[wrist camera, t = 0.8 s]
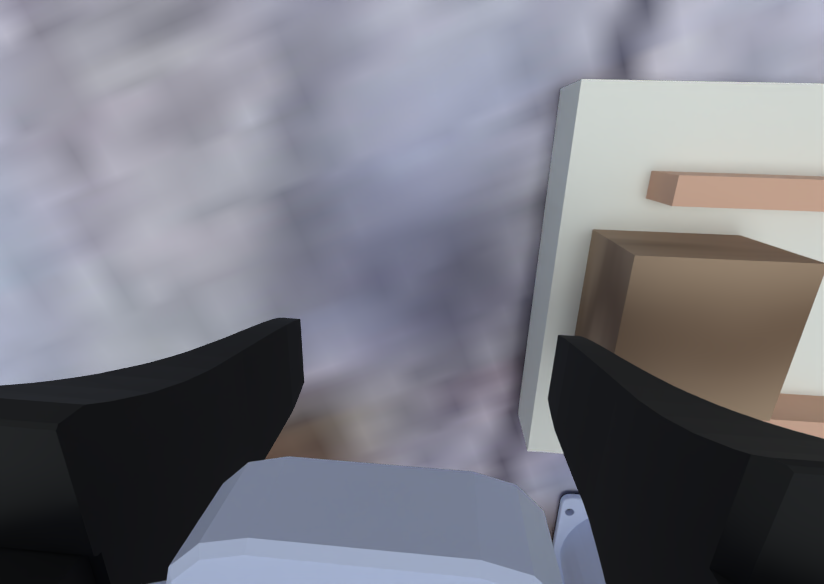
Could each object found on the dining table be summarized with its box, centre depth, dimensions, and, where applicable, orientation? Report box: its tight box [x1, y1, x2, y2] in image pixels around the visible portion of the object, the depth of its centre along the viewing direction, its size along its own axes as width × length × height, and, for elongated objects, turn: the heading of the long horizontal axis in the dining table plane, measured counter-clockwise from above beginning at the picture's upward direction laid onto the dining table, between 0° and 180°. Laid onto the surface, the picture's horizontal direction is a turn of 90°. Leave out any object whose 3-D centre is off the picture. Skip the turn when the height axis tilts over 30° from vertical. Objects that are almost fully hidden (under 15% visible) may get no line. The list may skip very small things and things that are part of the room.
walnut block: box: [574, 229, 824, 421], centre depth 16 cm, size 6×6×4 cm
